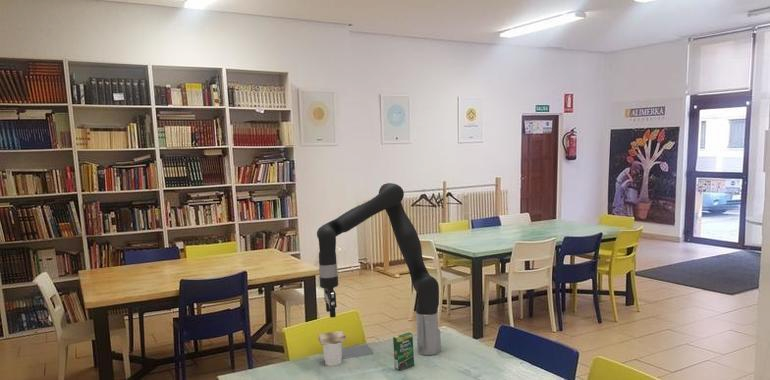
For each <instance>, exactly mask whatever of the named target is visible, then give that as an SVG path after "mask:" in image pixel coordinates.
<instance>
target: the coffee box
mask: <svg viewBox="0 0 770 380" xmlns="http://www.w3.org/2000/svg"><path fill="white" fill-rule="evenodd" d="M392 341H393V343H392V344H393V356H394V357H393V358H394V359H393V360H394V370H397V371H398V372H400V371H401V370H405V369H407V368H411V367H413V366H415V355H414V354H415V353H414V337H413V333H411V332H405V333H403V334H399V335H396V336H395V335H394V336H393V337H392Z"/></svg>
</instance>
